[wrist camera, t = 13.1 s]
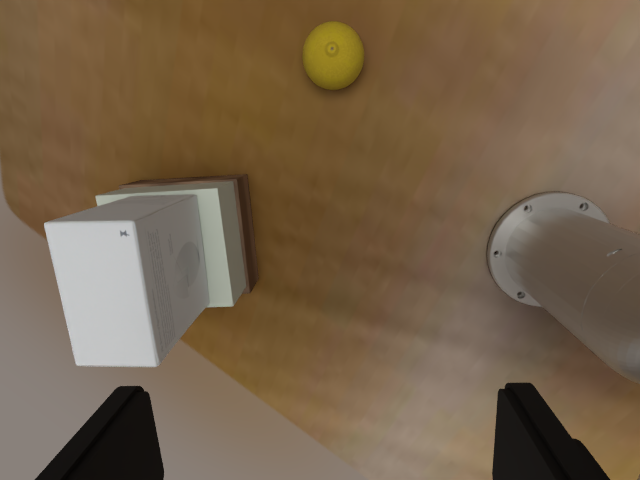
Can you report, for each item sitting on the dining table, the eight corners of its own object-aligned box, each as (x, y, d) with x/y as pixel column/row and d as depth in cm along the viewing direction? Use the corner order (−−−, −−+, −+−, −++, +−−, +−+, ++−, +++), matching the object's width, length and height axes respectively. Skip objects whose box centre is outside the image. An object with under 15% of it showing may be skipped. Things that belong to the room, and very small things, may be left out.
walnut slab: (248, 173, 44) (236, 179, 39) (259, 276, 47) (249, 293, 42) (143, 179, 45) (119, 185, 40) (160, 280, 48) (140, 296, 43)
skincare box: (125, 195, 35) (37, 221, 25) (197, 193, 35) (137, 218, 25) (143, 305, 38) (70, 369, 28) (210, 305, 38) (161, 369, 27)
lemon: (329, 105, 41) (325, 99, 33) (295, 58, 40) (283, 41, 32) (373, 69, 40) (380, 54, 32) (340, 20, 39) (338, -7, 31)
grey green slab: (233, 181, 39) (217, 188, 35) (246, 286, 42) (233, 306, 37) (125, 188, 40) (95, 195, 35) (145, 290, 43) (120, 310, 38)
